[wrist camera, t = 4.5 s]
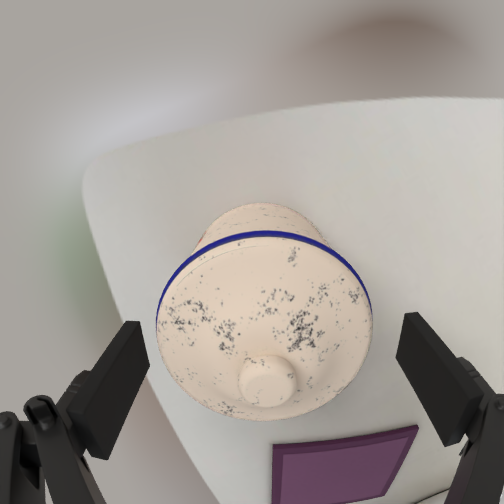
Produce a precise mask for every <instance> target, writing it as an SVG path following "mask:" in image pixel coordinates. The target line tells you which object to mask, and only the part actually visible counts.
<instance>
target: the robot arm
mask: <svg viewBox="0 0 504 504" xmlns="http://www.w3.org/2000/svg"><path fill="white" fill-rule="evenodd" d="M396 360H397V361H398V363H399V365H400V366H401V368H402V370H403V372H404V373H405V375H406V377H407V379H408V380H409V382H410V384H411V386H412V387H413V389H414V391H415V393H416V394H417V396H418V398H419V400H420V402H421V403H422V405H423V407H424V409H425V411H426V413H427V414H428V416H429V418H430V420H431V422H432V424H433V426H434V428H435V429H436V431H437V433H438V435H439V437H440V439H441V441H442V443H443V445H444V447H447V446H450V445H453V444H456V443H459V442H460V441H461V439H462V437H463V435H464V434H465V433H466V435H467V437H468V438H469V439H468V441H467V442H466V444H465V446H464V447H463V449H462V450H461V452H460V454H459V455H460V456H461V455H462V457H461V460H460V463H459V465H458V468H457V471H456V474H455V477H454V479H453V482H452V485H451V487H450V490H449V492H448V495H447V497H446V499H445V502H444V504H499V502H500V498H501V494H502V490H503V486H504V394H496V393H495V392H494V391H493V390H492V388H491V387H490V386H489V385H488V383H487V382H486V381H485V380H484V378H483V377H482V376H480V373H479V372H478V371H476V369H475V367H474V366H473V365H472V364H471V363H470V362H469V361H467V360H466V359H464V358H463V357H459V358H456V357H455V355H454V354H453V353H452V352H451V350H450V349H449V348H448V347H447V346H446V344H445V343H444V342H443V341H442V340H441V338H440V337H439V336H438V335H437V334H436V333H435V331H434V330H433V329H432V328H431V327H430V326H429V324H428V323H427V322H426V321H425V320H424V319H423V317H422V316H421V315H420V314H419V313H418V312H413V313H405V315H404V320H403V326H402V331H401V335H400V340H399V345H398V349H397V354H396ZM149 367H150V364H149V360H148V356H147V351H146V347H145V343H144V338H143V334H142V329H141V325H140V321H126V322H125V323H124V324H123V326H122V327H121V329H120V330H119V332H118V333H117V334H116V336H115V337H114V338H113V340H112V341H111V343H110V344H109V345H108V347H107V348H106V350H105V351H104V353H103V354H102V356H101V357H100V358H99V360H98V361H97V363H96V364H95V366H94V367H93V369H92V370H91V371H87V370H84V371H82V372H81V373H80V374H78V375H77V376H76V377H75V378H74V379H73V381H72V382H71V385H69V387H68V388H67V390H66V392H64V394H63V395H62V397H61V398H60V400H59V401H58V403H57V404H56V405H55V404H54V402H53V401H52V399H51V398H50V397H48V396H45V395H39V396H35V397H32V398H30V399H29V400H28V401H27V402H26V404H25V405H24V409H23V411H24V412H25V414H26V416H27V418H28V420H29V421H19V420H18V418H17V416H16V415H15V413H13V412H8V411H6V412H2V413H0V504H46V502H45V479H46V483H47V486H48V489H49V492H50V495H51V498H52V501H53V504H106V502H105V500H104V498H103V496H102V494H101V492H100V490H99V488H98V486H97V484H96V481H95V480H94V477H93V475H92V473H91V471H90V469H89V466H88V464H87V462H86V459H85V458H84V456H83V454H84V452H85V449H87V450H88V452H89V454H90V455H91V456H92V457H95V458H99V459H103V460H108V459H109V456H110V454H111V452H112V450H113V447H114V445H115V442H116V440H117V438H118V436H119V433H120V431H121V429H122V426H123V424H124V422H125V419H126V417H127V415H128V413H129V410H130V408H131V406H132V404H133V401H134V399H135V397H136V395H137V393H138V391H139V388H140V386H141V384H142V382H143V380H144V378H145V375H146V373H147V371H148V369H149ZM462 453H463V454H462Z"/></svg>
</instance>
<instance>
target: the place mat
mask: <svg viewBox="0 0 504 504" xmlns="http://www.w3.org/2000/svg"><path fill="white" fill-rule="evenodd" d="M418 430H419V427H418V425H414V426H410V427H405V428H401V429H396V430H391V431H386V432H381V433H376V434H370V435H364V436H358V437H351V438H344V439H336V440H328V441H318V442H307V443H294V444H277V445H273V462H272V504H346V503H352V502H358V501H363V500H368V499H373V498H377V497H382V496H385V494H386V492H387V491H388V489H389V487H390V485H391V484H392V482H393V480H394V478H395V476H396V475H397V473H398V471H399V469H400V467H401V465H402V463H403V461H404V459H405V457H406V455H407V453H408V451H409V449H410V447H411V445H412V443H413V441H414V439H415V437H416V434H417V432H418Z"/></svg>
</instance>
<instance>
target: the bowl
mask: <svg viewBox="0 0 504 504" xmlns="http://www.w3.org/2000/svg"><path fill="white" fill-rule="evenodd" d="M449 490H450V489H449ZM449 490H447V491H444V492H442V493H439V494H437V495H434V496H432V497H430V498H428V499H425V500H423V501H421V502H419V503H417V504H444V502H445V499H446V497H447V495H448V492H449ZM501 497H502V494H501ZM500 499H501V498H500Z"/></svg>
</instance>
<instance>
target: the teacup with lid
mask: <svg viewBox="0 0 504 504" xmlns="http://www.w3.org/2000/svg"><path fill="white" fill-rule="evenodd" d="M156 333H157V342H158V346H159V351H160V354H161V356H162V359H163V361H164V363H165V366H166V368H167V369H168V371H169V373H170V374H171V376H172V377H173V379H174V380H175V381H176V383H177V384H178V385H179V386H180V387H181V388H182V389H183V390H184V391H185V392H186V393H187V394H188V395H189V396H191V397H192V398H193V399H194V400H196V401H197V402H199V403H200V404H202V405H204V406H206V407H207V408H209V409H211V410H213V411H216V412H218V413H221V414H224V415H227V416H230V417H234V418H238V419H244V420H252V421H273V420H282V419H287V418H292V417H295V416H299V415H302V414H305V413H307V412H310V411H312V410H314V409H316V408H318V407H320V406H322V405H324V404H325V403H327V402H329V401H330V400H332V399H333V398H334V397H336V396H337V395H338V394H339V393H340V392H342V391H343V390H344V389H345V388H346V387H347V386H348V385H349V384H350V382H351V381H352V380H353V379H354V377H355V376H356V374H357V373H358V371H359V370H360V368H361V366H362V364H363V362H364V360H365V358H366V355H367V353H368V350H369V346H370V343H371V337H372V308H371V303H370V299H369V296H368V293H367V291H366V288H365V286H364V284H363V282H362V280H361V279H360V277H359V276H358V274H357V273H356V271H355V270H354V269H353V268H352V266H351V265H350V264H349V263H348V262H347V261H346V260H345V259H344V258H343V257H341V256H340V255H339V254H338V253H336V252H335V251H334V250H332V249H331V248H330V247H329V245H328V244H327V243H326V241H325V240H324V239H323V237H322V236H321V235H320V234H319V232H318V231H317V230H316V228H315V227H314V226H313V225H312V224H311V223H310V222H309V221H308V220H307V219H306V218H304V217H303V216H302V215H300V214H299V213H297V212H295V211H293V210H291V209H289V208H287V207H284V206H280V205H277V204H271V203H253V204H247V205H243V206H240V207H237V208H234V209H232V210H230V211H228V212H226V213H225V214H223V215H222V216H220V217H219V218H217V219H216V220H215V221H214V222H213V223H212V224H211V225H210V226H209V227H208V229H207V230H206V231H205V233H204V234H203V236H202V237H201V239H200V241H199V242H198V244H197V246H196V247H195V249H194V251H193V252H192V254H191V256H190V257H189V258H188V259H187V260H186V261H185V262H183V263H182V264H181V265H180V267H179V268H178V269H177V270H176V271H175V272H174V274H173V275H172V277H171V278H170V280H169V281H168V283H167V285H166V287H165V288H164V290H163V293H162V295H161V298H160V301H159V305H158V309H157V316H156Z"/></svg>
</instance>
